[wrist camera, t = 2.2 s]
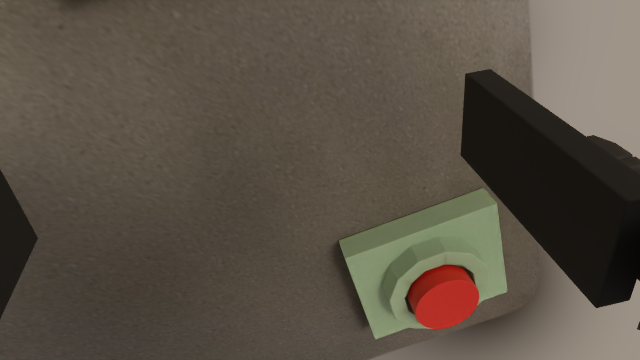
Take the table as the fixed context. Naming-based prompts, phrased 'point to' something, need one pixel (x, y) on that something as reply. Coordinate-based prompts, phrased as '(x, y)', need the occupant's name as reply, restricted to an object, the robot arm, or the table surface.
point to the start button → (443, 296)
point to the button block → (425, 256)
